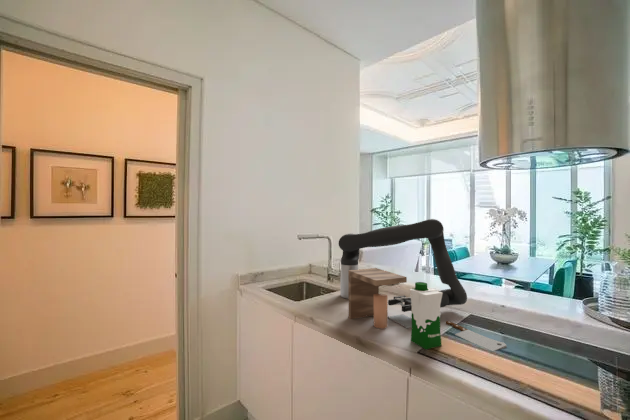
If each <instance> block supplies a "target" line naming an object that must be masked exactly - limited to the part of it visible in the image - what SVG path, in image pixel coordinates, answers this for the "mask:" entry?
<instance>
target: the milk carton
mask: <svg viewBox="0 0 630 420" xmlns="http://www.w3.org/2000/svg"><path fill="white" fill-rule="evenodd" d="M408 291H409V295H410V296H409V297H411V302H412V311H411V318H412V327H411V330H410V331H411V332H410V334H411V335H410V342H411V343H414V344H415V345H417V346H419V347H420V348H422V349H424V350H430V349H434V348H438V347H442V337H441V336H442V335H441V308H440V304H441V299H442V294H443V293H442V292H439V291H440V290H437V289H434V288H429V287H428V283H426V282H422V281H418V282H417V281H416V282H414V288H409V290H408Z"/></svg>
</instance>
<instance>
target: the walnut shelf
mask: <svg viewBox="0 0 630 420" xmlns="http://www.w3.org/2000/svg"><path fill="white" fill-rule="evenodd" d="M407 278H408V277H407V276H404V275H402V274H397V273H394V272H390V271H387V270H384V269H381V268H378V267H373V268H372V267H371V268H361V269H359V268H358V270H348V318H349V319H350V320H354V319H360V318H365V317H366V318H367V317H374V294H380V292H379V291H380V287H379V286H387V285H395V284H397V285H398V284H404V283H407Z"/></svg>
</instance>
